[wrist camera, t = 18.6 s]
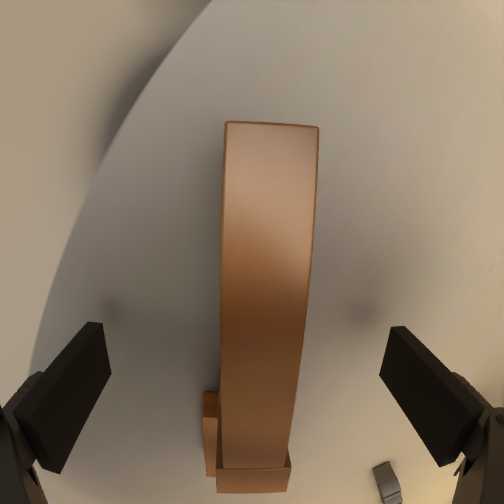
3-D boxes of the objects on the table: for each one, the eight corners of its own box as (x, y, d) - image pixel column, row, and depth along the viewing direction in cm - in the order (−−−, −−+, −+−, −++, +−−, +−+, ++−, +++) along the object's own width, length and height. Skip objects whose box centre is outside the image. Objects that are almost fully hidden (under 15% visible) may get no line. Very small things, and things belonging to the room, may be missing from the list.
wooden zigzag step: (277, 452, 20) (291, 538, 12) (208, 452, 20) (203, 539, 12) (305, 150, 15) (366, 132, 8) (203, 146, 15) (172, 120, 7)
